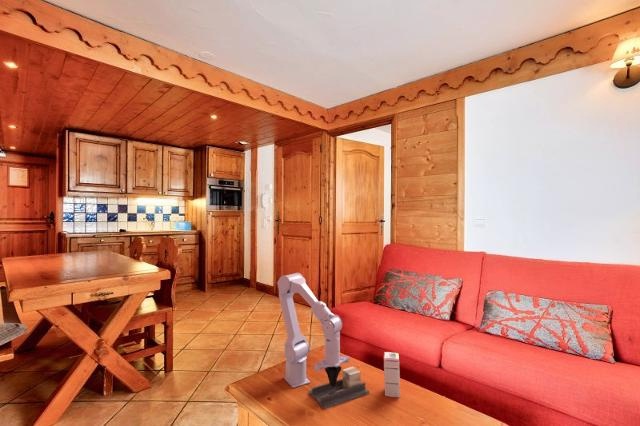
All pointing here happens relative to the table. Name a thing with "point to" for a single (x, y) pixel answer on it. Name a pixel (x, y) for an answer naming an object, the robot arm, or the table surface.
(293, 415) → the table surface
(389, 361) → the syrup box
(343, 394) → the chute
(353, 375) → the block
